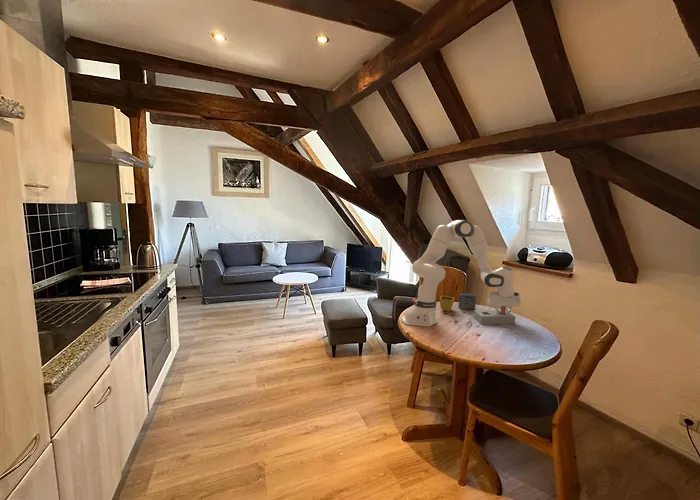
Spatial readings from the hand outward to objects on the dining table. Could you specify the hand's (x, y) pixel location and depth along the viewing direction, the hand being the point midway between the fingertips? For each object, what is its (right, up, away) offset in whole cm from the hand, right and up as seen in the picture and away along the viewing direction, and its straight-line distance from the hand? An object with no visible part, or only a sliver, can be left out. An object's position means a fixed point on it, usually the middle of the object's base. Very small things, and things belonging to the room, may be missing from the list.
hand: (502, 312), depth 205 cm
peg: (0, -6, +1) cm, 6 cm away
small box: (-15, -2, +23) cm, 28 cm away
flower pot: (-31, -2, +19) cm, 36 cm away
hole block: (-5, -6, +1) cm, 8 cm away
